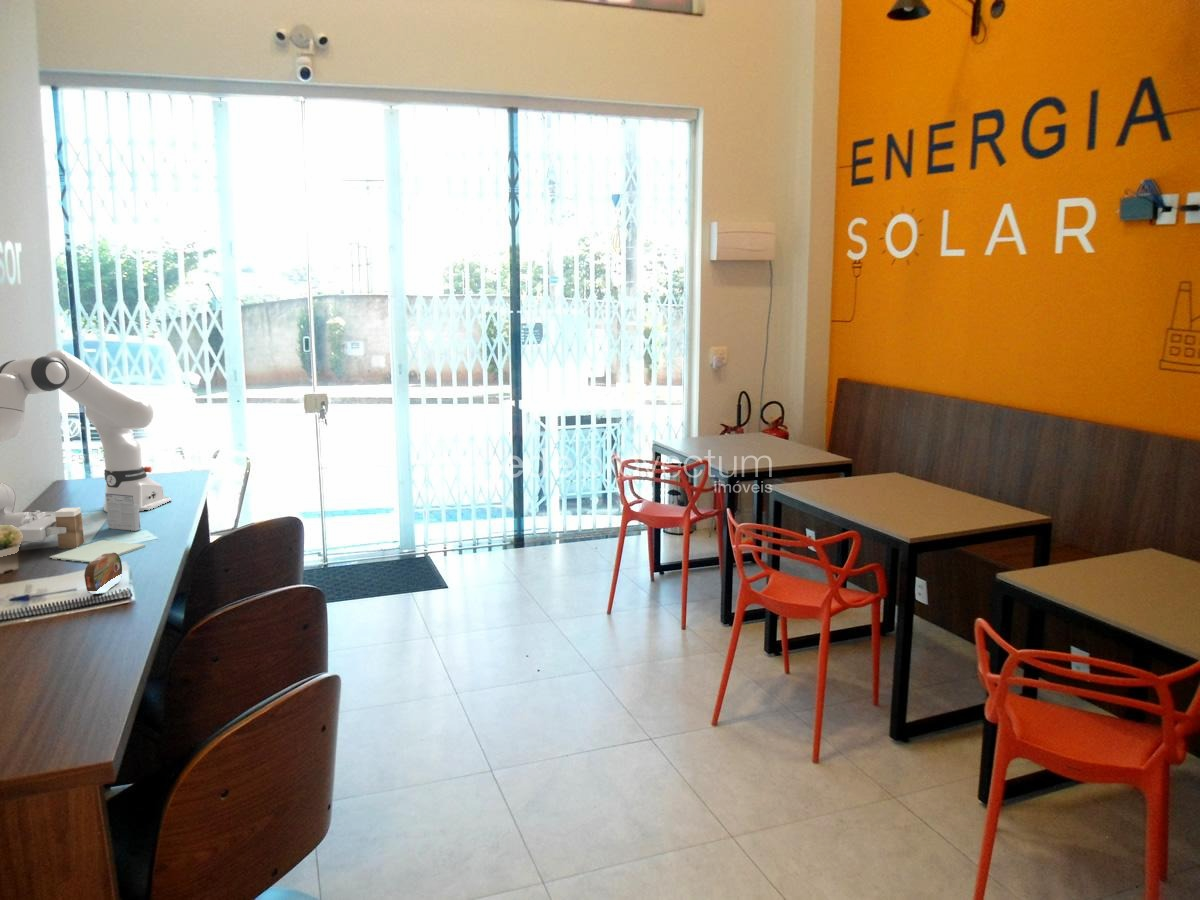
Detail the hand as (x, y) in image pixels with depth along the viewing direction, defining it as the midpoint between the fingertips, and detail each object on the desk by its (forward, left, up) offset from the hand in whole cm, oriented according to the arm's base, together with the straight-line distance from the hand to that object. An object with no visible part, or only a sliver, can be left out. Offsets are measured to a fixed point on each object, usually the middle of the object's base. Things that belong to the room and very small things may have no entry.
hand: (72, 525), depth 263 cm
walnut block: (0, -1, -6) cm, 6 cm away
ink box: (-20, -1, -6) cm, 21 cm away
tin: (+28, +39, -6) cm, 49 cm away
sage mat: (+3, +12, -6) cm, 14 cm away
